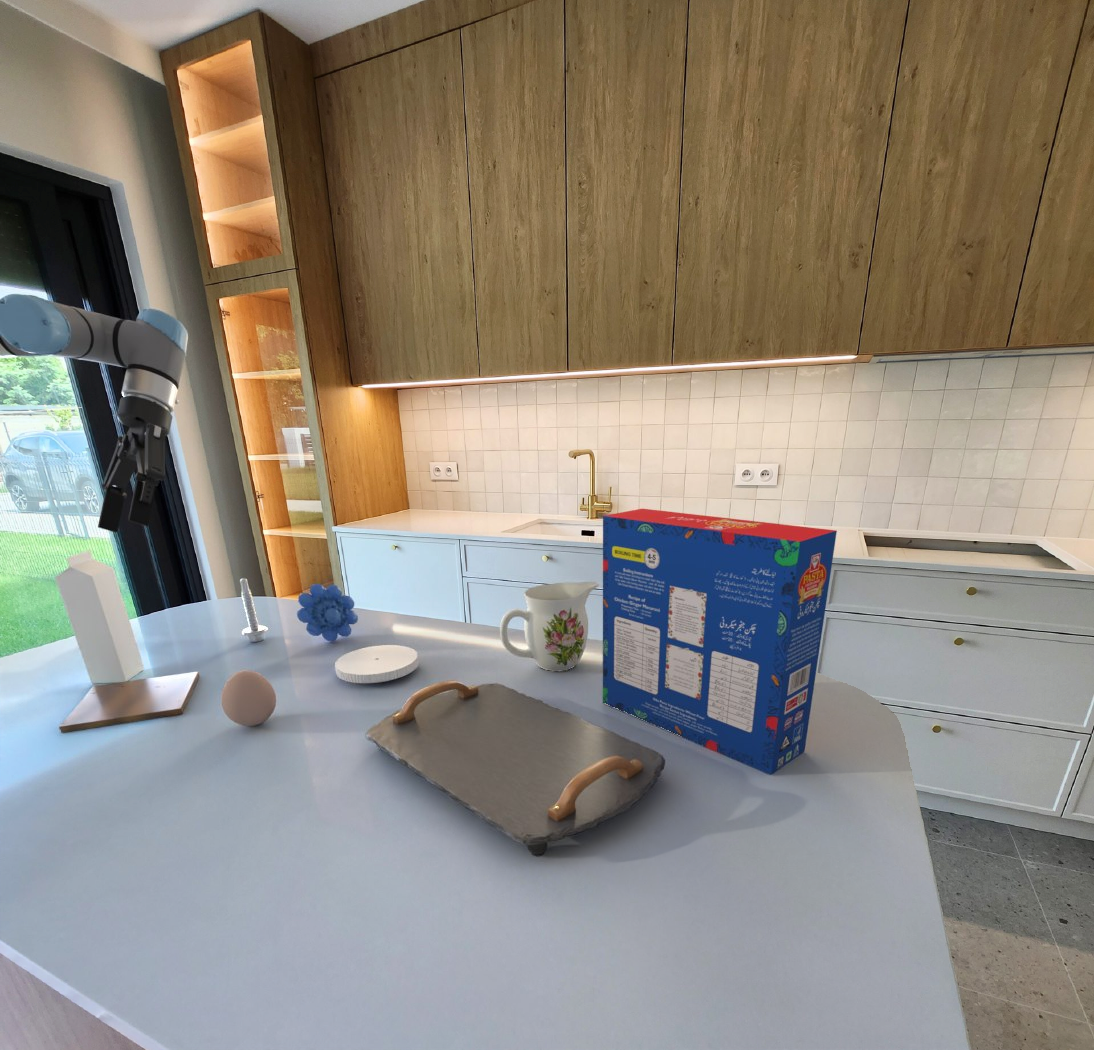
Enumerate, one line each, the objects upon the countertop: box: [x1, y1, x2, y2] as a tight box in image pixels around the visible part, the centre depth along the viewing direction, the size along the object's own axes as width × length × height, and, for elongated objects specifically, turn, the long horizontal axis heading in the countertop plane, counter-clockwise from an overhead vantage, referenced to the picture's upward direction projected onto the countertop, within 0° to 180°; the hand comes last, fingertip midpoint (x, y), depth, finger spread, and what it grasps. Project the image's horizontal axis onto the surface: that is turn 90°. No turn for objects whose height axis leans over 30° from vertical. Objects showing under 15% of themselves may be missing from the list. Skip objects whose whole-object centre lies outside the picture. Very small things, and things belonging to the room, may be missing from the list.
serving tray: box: [364, 680, 666, 857], centre depth 78 cm, size 39×23×6 cm, turn 43°
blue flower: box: [296, 583, 359, 642], centre depth 122 cm, size 12×7×12 cm, turn 128°
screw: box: [239, 577, 269, 643], centre depth 124 cm, size 13×5×5 cm
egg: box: [220, 669, 277, 727], centre depth 90 cm, size 7×7×8 cm
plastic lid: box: [334, 644, 420, 684], centre depth 108 cm, size 14×14×2 cm
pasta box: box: [602, 508, 838, 776], centre depth 81 cm, size 28×8×28 cm, turn 41°
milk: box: [54, 550, 145, 685], centre depth 107 cm, size 6×6×22 cm
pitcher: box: [499, 581, 600, 672], centre depth 106 cm, size 11×18×14 cm, turn 110°
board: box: [59, 670, 200, 734], centre depth 100 cm, size 16×16×1 cm
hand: (122, 526), depth 103 cm, fingers open, 13 cm apart
